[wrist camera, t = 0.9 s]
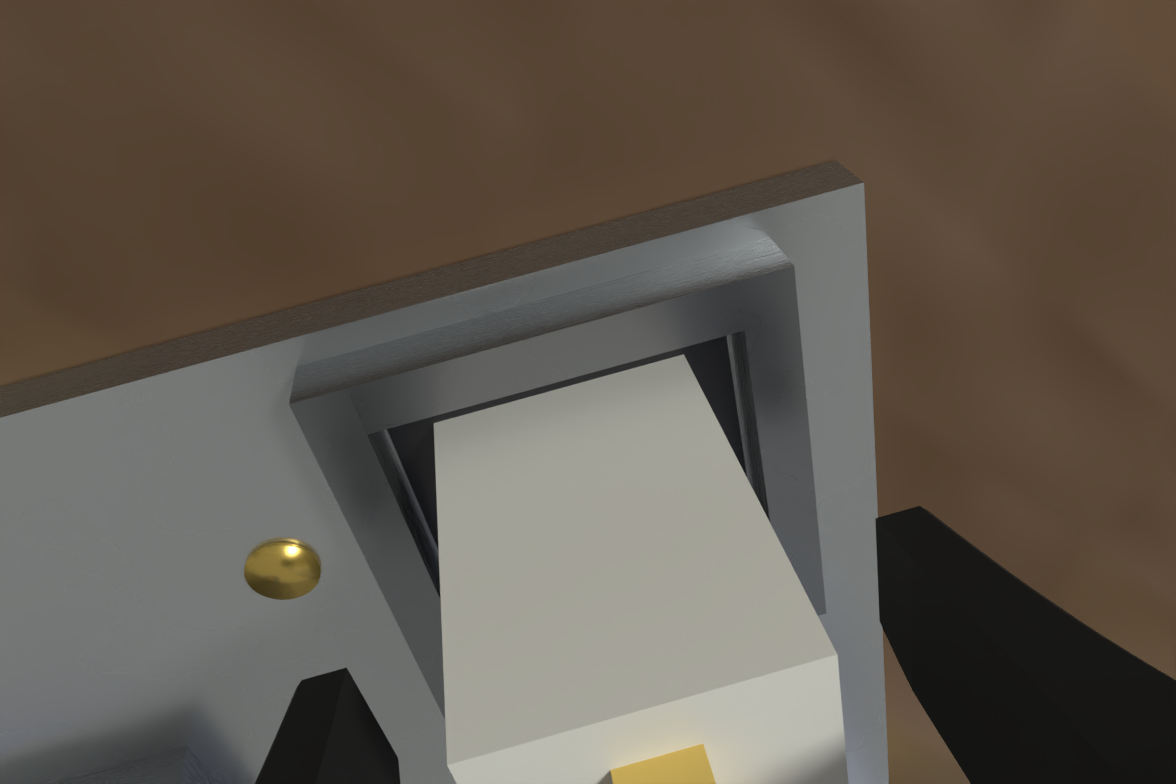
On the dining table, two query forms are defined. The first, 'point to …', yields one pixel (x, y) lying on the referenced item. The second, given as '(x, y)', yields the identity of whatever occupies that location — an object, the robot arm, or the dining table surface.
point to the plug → (622, 598)
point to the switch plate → (405, 480)
